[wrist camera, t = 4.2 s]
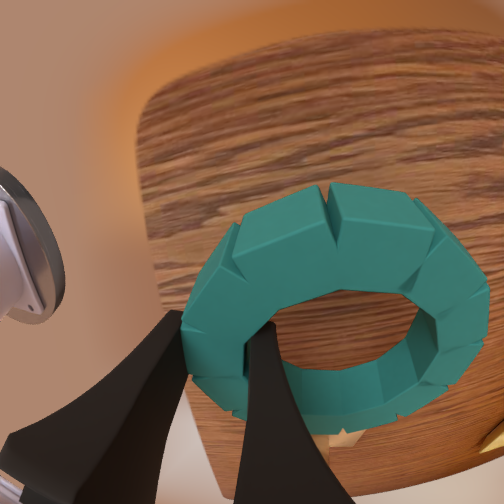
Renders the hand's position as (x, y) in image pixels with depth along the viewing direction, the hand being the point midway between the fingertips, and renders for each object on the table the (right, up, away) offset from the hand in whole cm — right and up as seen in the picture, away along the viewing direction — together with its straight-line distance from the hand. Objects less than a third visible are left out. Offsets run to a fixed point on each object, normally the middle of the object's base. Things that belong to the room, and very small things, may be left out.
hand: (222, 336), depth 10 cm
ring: (+4, 0, +1) cm, 4 cm away
